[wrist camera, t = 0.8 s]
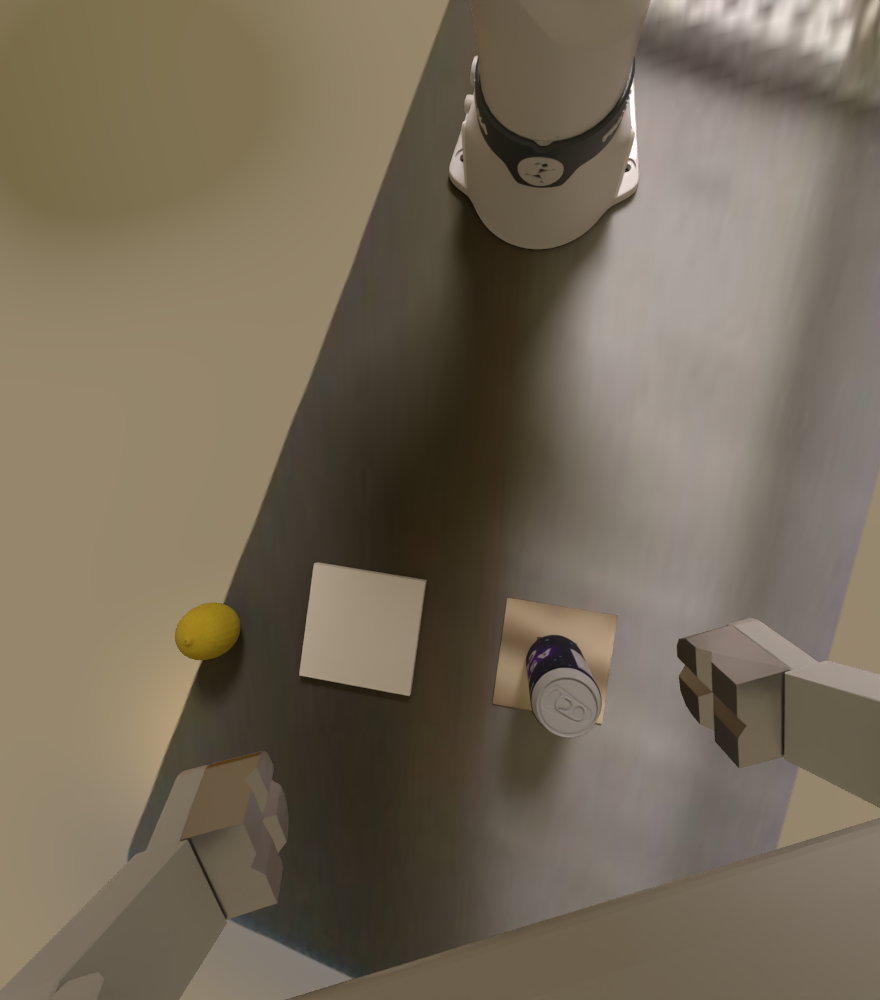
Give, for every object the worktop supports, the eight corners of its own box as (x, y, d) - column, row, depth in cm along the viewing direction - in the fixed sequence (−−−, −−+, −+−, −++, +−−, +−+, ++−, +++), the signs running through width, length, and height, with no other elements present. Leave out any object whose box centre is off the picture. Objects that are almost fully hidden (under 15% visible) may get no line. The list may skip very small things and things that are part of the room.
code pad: (507, 597, 55) (507, 598, 54) (617, 615, 53) (617, 615, 53) (492, 702, 55) (492, 703, 55) (601, 723, 53) (601, 724, 53)
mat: (317, 562, 57) (313, 563, 56) (426, 579, 56) (425, 581, 55) (302, 672, 57) (299, 675, 56) (411, 692, 56) (409, 696, 55)
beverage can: (541, 622, 54) (551, 658, 42) (592, 649, 53) (617, 694, 41) (515, 670, 54) (518, 720, 42) (566, 698, 54) (583, 756, 42)
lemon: (222, 586, 58) (177, 600, 50) (262, 615, 58) (223, 634, 50) (196, 627, 59) (148, 648, 51) (236, 656, 58) (193, 682, 50)
